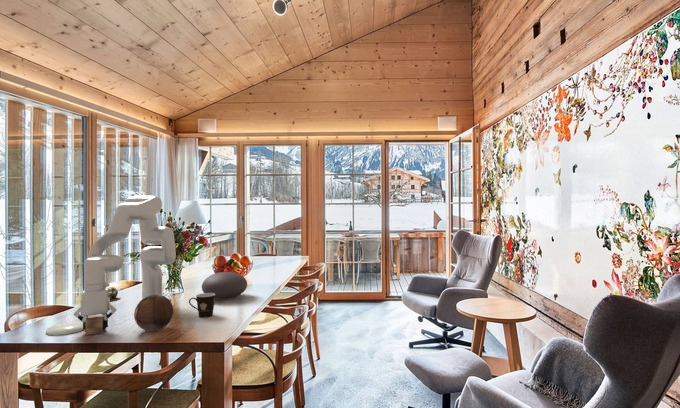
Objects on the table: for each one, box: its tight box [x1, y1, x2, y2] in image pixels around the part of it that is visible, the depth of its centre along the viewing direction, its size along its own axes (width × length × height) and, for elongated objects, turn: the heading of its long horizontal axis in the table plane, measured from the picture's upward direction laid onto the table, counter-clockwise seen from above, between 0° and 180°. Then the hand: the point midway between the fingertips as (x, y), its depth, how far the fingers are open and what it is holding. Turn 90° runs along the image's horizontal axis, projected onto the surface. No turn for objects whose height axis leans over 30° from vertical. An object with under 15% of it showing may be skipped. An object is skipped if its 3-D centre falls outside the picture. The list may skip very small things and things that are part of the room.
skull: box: [106, 285, 122, 302], centre depth 219 cm, size 12×10×10 cm
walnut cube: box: [84, 314, 105, 336], centre depth 162 cm, size 6×6×6 cm
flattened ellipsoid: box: [201, 271, 248, 300], centre depth 220 cm, size 25×25×15 cm
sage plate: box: [45, 320, 84, 336], centre depth 166 cm, size 15×15×1 cm
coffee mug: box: [188, 292, 216, 319], centre depth 186 cm, size 12×9×10 cm
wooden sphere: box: [133, 294, 174, 332], centre depth 164 cm, size 15×15×15 cm
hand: (95, 329), depth 162 cm, fingers closed on walnut cube, 6 cm apart
